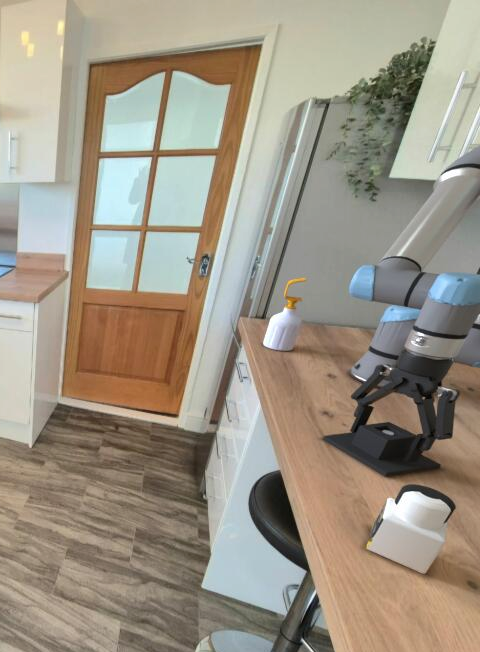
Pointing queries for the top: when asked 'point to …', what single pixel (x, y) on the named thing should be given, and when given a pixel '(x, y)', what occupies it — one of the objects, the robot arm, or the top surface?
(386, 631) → the top surface
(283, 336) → the soap bottle
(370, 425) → the socket block
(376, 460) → the base pad
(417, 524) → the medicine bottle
